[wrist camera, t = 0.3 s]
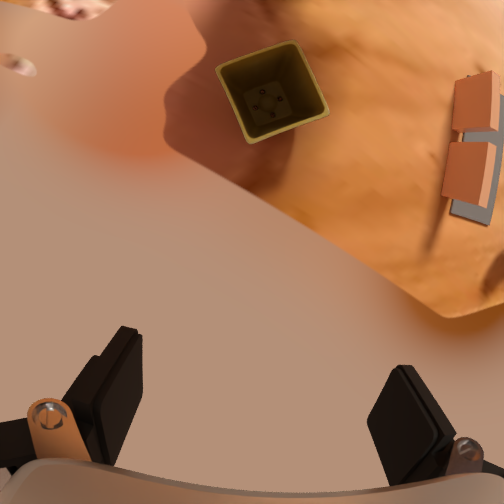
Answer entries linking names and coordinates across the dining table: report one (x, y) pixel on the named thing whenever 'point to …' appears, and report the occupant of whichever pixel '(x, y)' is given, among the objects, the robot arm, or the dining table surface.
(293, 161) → the dining table surface
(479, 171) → the tile
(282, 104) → the flower pot
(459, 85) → the tile
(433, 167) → the dining table surface
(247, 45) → the dining table surface
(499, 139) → the felt mat
